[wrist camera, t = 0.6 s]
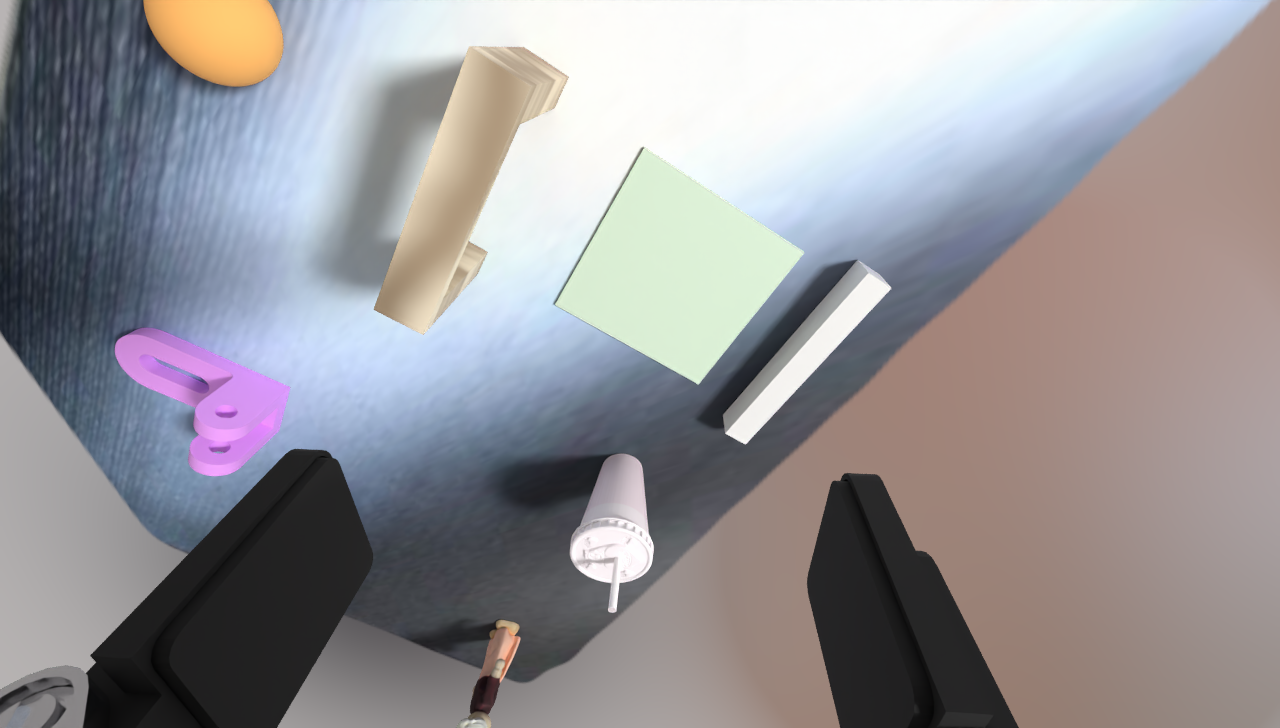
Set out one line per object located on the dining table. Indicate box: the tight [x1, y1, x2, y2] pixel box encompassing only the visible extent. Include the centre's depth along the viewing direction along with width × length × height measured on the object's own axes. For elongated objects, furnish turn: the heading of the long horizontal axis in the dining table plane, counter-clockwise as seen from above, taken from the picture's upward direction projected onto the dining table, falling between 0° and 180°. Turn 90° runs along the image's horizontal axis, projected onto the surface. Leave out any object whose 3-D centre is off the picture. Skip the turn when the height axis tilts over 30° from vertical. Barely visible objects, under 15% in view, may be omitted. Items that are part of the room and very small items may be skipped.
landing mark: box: [555, 147, 804, 384], centre depth 38 cm, size 13×13×1 cm
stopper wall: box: [723, 260, 891, 444], centre depth 40 cm, size 16×2×2 cm, turn 149°
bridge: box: [374, 46, 569, 335], centre depth 31 cm, size 3×15×10 cm, turn 149°
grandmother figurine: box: [457, 620, 520, 728], centre depth 56 cm, size 8×4×13 cm, turn 162°
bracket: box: [115, 328, 290, 476], centre depth 43 cm, size 13×6×7 cm, turn 60°
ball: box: [144, 0, 283, 87], centre depth 29 cm, size 6×6×6 cm
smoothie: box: [570, 454, 654, 613], centre depth 42 cm, size 6×6×14 cm
